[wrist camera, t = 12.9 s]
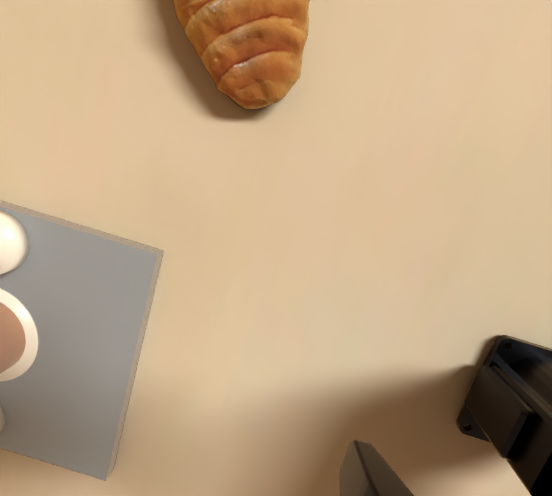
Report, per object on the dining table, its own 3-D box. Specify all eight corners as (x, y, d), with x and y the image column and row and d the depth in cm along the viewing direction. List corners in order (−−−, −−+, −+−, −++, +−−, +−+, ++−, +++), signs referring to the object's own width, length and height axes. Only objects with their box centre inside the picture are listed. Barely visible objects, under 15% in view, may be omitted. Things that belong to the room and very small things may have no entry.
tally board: (163, 250, 21) (149, 259, 19) (113, 468, 25) (97, 494, 23) (-65, 180, 21) (-102, 181, 19) (-82, 407, 25) (-114, 428, 23)
